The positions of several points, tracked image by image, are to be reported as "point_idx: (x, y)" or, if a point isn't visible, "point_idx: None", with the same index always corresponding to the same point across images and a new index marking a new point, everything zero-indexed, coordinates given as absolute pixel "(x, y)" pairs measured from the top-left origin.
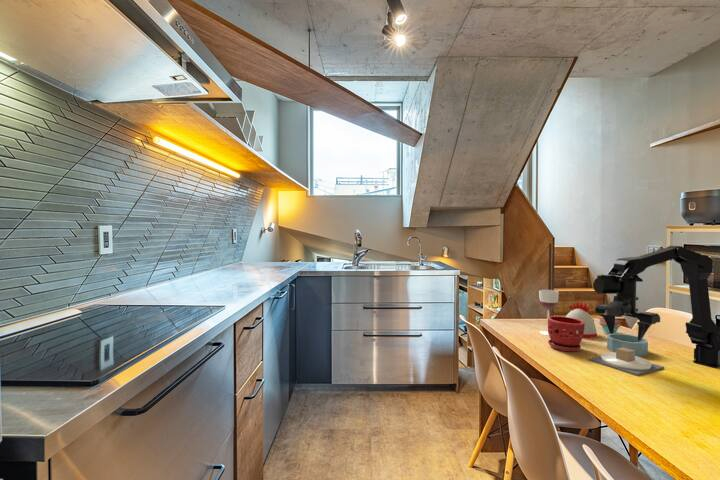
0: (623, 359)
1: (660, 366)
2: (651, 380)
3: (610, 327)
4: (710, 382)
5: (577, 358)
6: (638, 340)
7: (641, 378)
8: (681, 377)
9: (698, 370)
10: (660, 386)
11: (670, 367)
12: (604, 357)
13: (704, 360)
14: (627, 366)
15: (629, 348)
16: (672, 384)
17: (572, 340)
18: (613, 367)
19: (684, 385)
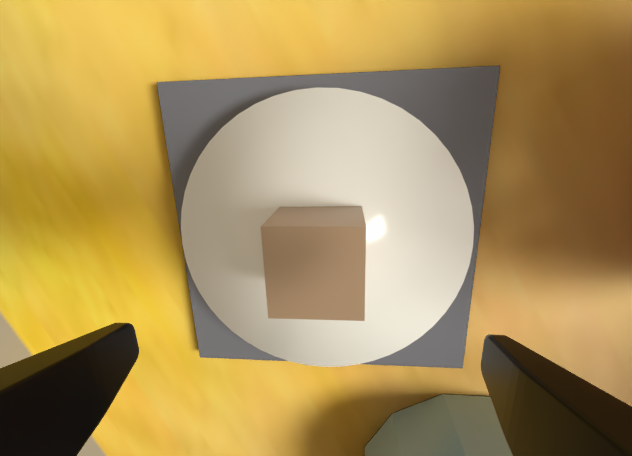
0: (309, 207)
1: (209, 346)
2: (92, 93)
3: (561, 402)
4: (30, 340)
5: (571, 13)
6: (127, 323)
7: (127, 66)
8: (97, 294)
9: (146, 448)
10: (13, 40)
11: (206, 391)
12: (414, 139)
13: None
14: (232, 120)
15: (415, 447)
16: (29, 145)
17: None
18: (305, 75)
19: (12, 190)
